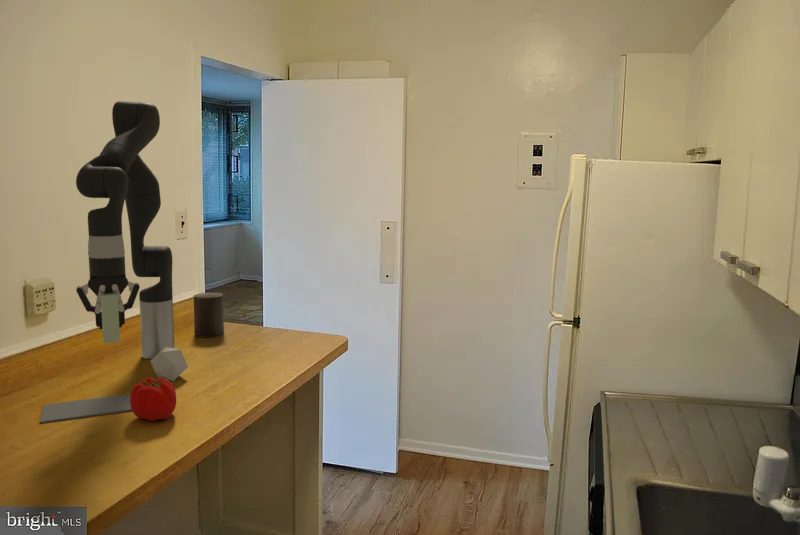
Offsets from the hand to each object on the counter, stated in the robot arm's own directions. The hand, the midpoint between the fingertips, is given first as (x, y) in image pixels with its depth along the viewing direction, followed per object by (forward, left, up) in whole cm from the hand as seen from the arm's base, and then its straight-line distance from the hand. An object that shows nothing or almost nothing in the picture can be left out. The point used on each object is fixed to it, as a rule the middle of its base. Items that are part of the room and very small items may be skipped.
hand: (110, 327), depth 146 cm
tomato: (+12, +8, -19) cm, 24 cm away
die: (-15, +14, -19) cm, 28 cm away
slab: (0, 0, -3) cm, 3 cm away
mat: (0, -5, -19) cm, 20 cm away
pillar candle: (-58, +31, -19) cm, 69 cm away
